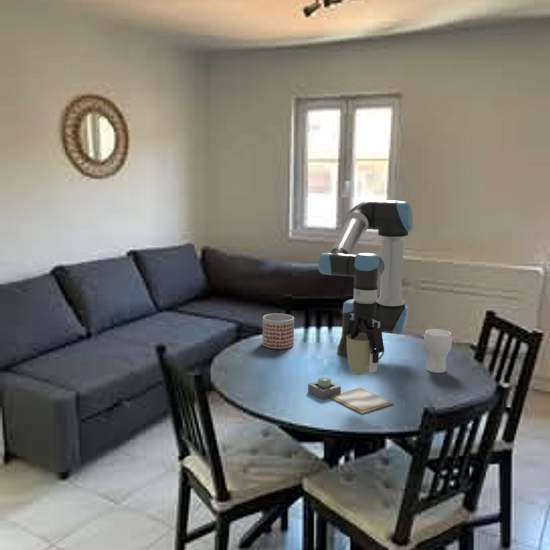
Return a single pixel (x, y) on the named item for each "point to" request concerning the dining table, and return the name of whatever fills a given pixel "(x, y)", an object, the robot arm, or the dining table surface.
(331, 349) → the dining table surface
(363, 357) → the mug
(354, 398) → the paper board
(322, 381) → the button
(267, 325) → the planter
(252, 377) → the dining table surface
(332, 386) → the button housing
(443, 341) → the cup
